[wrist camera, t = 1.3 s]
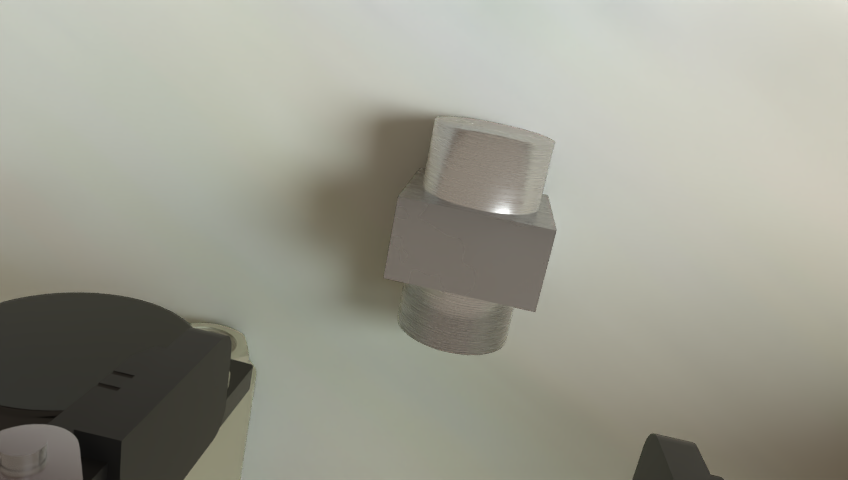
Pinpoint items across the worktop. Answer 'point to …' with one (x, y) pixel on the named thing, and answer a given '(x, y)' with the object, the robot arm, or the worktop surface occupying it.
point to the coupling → (472, 235)
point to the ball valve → (106, 363)
